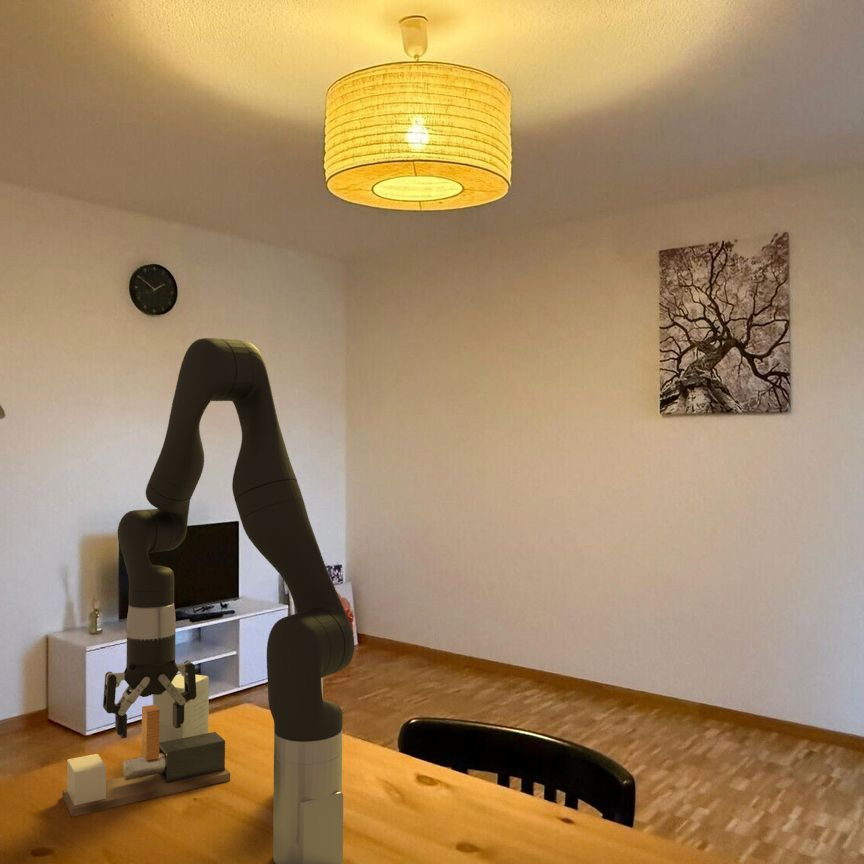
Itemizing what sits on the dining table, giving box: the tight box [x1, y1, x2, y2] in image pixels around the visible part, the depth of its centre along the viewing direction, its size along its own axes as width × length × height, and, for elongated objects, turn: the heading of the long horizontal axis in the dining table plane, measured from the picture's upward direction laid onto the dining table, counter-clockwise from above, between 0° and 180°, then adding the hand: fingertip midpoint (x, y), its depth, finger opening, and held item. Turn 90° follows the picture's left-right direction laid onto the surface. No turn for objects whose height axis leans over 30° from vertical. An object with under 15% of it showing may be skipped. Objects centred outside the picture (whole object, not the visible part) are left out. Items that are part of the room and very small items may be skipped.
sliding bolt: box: [121, 703, 166, 781], centre depth 136 cm, size 14×3×11 cm, turn 124°
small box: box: [153, 673, 210, 743], centre depth 150 cm, size 8×6×13 cm
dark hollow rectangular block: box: [159, 731, 226, 783], centre depth 138 cm, size 10×5×5 cm, turn 124°
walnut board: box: [61, 767, 231, 818], centre depth 134 cm, size 24×8×1 cm, turn 124°
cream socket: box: [66, 753, 107, 806], centre depth 129 cm, size 4×6×5 cm
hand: (150, 731), depth 134 cm, fingers open, 8 cm apart
